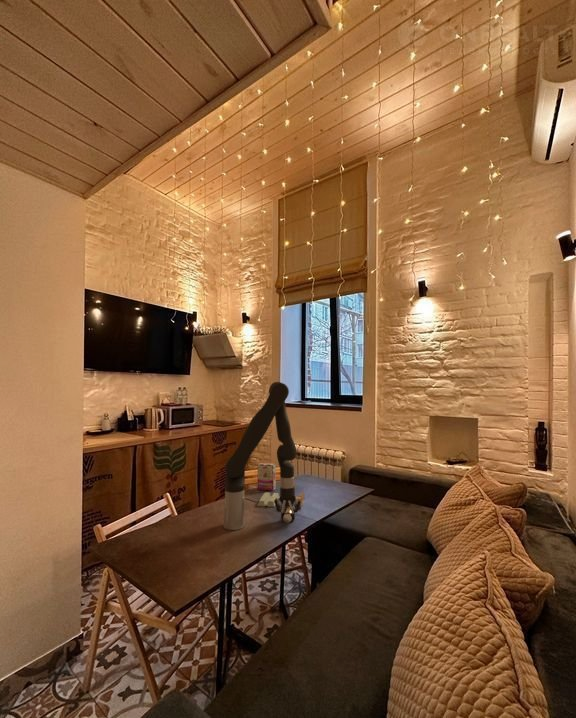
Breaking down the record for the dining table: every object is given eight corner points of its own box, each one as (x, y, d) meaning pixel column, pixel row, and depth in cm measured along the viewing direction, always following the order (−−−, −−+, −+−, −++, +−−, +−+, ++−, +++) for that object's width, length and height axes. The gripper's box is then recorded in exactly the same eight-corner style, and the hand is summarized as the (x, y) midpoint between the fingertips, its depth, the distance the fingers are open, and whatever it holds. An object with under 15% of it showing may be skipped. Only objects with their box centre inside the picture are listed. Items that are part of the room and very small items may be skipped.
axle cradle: (257, 506, 184) (257, 500, 185) (263, 497, 198) (263, 492, 198) (275, 507, 183) (275, 501, 183) (280, 498, 196) (280, 493, 197)
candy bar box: (276, 488, 214) (275, 463, 215) (273, 491, 209) (273, 465, 210) (260, 487, 217) (260, 462, 218) (257, 489, 212) (257, 464, 214)
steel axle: (291, 523, 161) (290, 514, 162) (283, 523, 162) (282, 514, 162) (295, 512, 175) (295, 504, 175) (287, 511, 176) (287, 504, 176)
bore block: (284, 508, 181) (284, 497, 181) (289, 498, 196) (289, 488, 197) (300, 509, 179) (300, 498, 179) (304, 499, 195) (304, 489, 195)
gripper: (302, 483, 168) (303, 517, 167) (275, 482, 170) (275, 516, 169) (300, 488, 160) (301, 524, 159) (271, 487, 163) (272, 522, 162)
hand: (288, 520), depth 164 cm, fingers closed on steel axle, 4 cm apart
